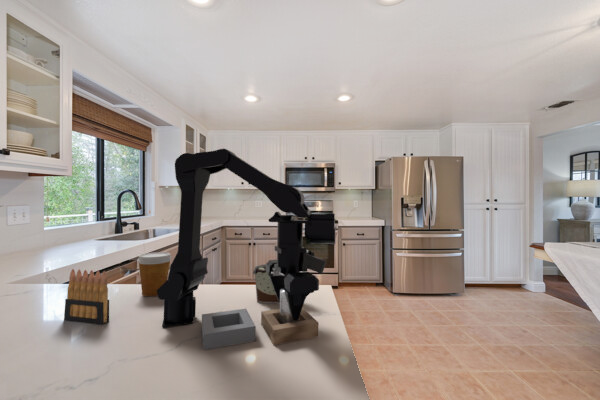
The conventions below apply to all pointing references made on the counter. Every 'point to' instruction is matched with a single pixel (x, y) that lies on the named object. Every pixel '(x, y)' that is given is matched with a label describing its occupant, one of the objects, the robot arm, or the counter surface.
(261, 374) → the counter surface
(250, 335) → the socket block
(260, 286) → the food container
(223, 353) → the counter surface
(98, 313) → the ammunition clip
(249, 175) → the robot arm
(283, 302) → the pin
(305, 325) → the block
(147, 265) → the disposable coffee cup
